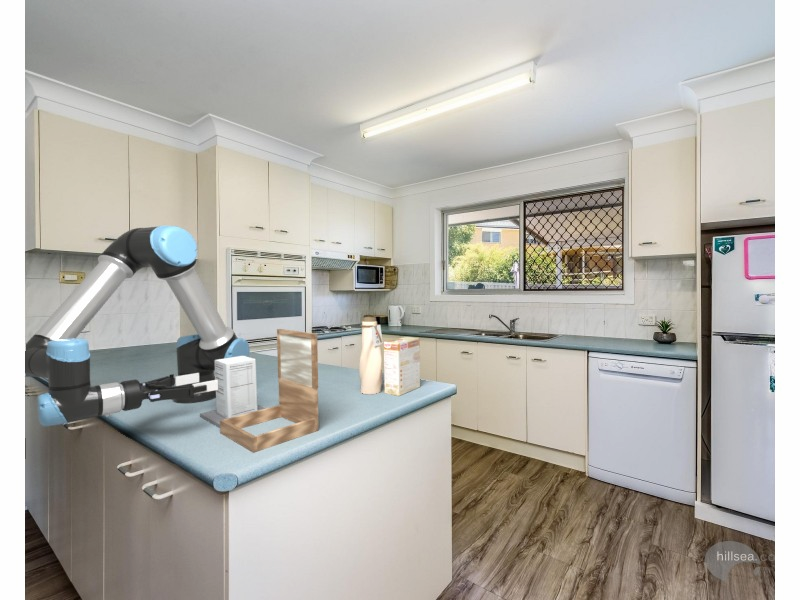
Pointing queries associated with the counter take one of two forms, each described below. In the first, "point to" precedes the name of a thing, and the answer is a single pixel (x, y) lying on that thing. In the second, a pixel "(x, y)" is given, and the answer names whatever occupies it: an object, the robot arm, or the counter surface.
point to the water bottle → (371, 357)
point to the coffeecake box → (401, 365)
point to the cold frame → (285, 395)
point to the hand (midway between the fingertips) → (207, 380)
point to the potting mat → (217, 416)
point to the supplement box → (236, 386)
